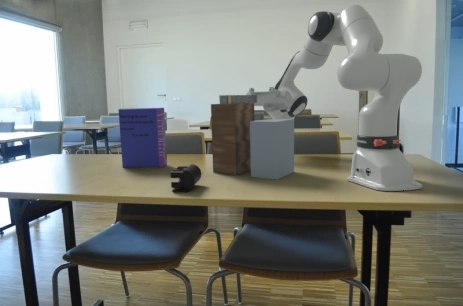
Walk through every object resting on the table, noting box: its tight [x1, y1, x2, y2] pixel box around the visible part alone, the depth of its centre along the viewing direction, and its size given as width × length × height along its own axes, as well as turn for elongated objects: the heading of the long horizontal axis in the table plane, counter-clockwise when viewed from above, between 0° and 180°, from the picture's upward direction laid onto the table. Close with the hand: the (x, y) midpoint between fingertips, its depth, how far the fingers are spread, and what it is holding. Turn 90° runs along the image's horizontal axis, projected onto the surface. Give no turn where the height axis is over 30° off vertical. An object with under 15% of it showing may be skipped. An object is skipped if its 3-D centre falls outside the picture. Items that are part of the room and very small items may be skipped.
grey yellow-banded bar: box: [219, 94, 257, 104], centre depth 135 cm, size 22×4×3 cm, turn 147°
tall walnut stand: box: [210, 103, 256, 176], centre depth 134 cm, size 14×10×25 cm
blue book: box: [118, 107, 168, 169], centre depth 147 cm, size 17×5×24 cm, turn 84°
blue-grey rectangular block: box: [250, 118, 295, 180], centre depth 125 cm, size 14×10×19 cm
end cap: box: [170, 164, 202, 193], centre depth 109 cm, size 10×7×7 cm
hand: (260, 88), depth 149 cm, fingers open, 8 cm apart
